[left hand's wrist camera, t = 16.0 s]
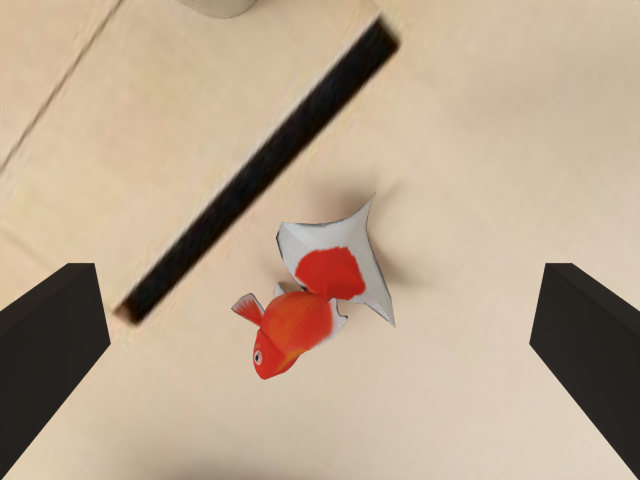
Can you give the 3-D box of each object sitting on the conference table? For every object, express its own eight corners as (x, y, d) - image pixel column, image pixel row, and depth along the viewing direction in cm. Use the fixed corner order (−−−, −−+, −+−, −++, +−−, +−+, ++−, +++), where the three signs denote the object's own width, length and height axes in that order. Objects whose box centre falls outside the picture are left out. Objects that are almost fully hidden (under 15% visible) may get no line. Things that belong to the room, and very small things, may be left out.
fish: (167, 291, 31) (210, 367, 23) (313, 147, 33) (397, 169, 25) (256, 359, 37) (314, 437, 29) (373, 233, 40) (455, 272, 32)
